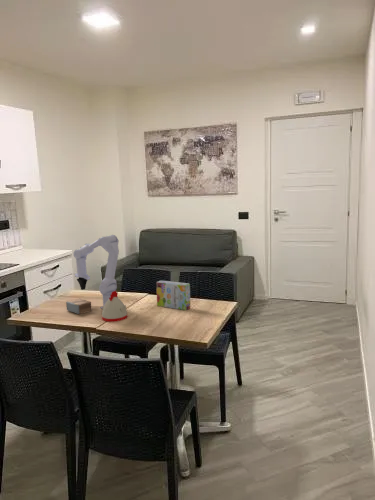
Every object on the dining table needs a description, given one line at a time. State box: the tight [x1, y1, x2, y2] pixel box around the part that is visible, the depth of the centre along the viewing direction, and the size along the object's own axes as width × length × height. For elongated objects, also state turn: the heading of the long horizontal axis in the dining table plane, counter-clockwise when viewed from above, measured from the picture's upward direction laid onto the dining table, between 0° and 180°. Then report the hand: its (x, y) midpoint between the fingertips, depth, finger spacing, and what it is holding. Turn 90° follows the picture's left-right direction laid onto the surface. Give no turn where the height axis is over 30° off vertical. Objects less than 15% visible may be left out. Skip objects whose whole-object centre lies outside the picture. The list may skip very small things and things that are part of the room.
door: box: [65, 301, 80, 315], centre depth 238 cm, size 13×1×6 cm, turn 47°
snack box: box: [155, 280, 191, 311], centre depth 240 cm, size 21×6×15 cm, turn 58°
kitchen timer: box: [101, 290, 128, 323], centre depth 225 cm, size 14×14×15 cm
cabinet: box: [67, 298, 92, 315], centre depth 241 cm, size 12×8×5 cm, turn 46°
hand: (83, 289), depth 254 cm, fingers closed
